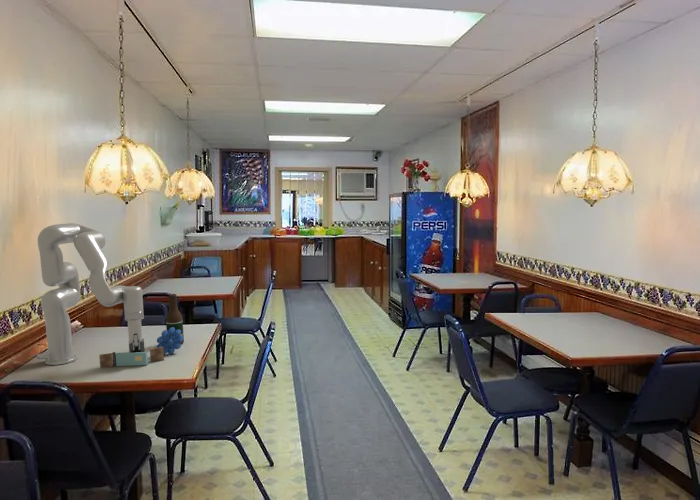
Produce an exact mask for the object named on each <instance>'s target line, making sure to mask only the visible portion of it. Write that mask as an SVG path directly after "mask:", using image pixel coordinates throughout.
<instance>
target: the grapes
mask: <svg viewBox="0 0 700 500" xmlns="http://www.w3.org/2000/svg"><path fill="white" fill-rule="evenodd" d="M182 341H183V336H182V335H181V330H176V331H175V328H174V327H172V328H170V329H169V331H167V329H165V330H163V331H161V336H158V337H157V338H156V343H157V345H156V348H158V347H163V353H164V355H166V354H169V355H173V354H174V353H175V350H180V348H181V346H182V344H180V343H179V342H182Z"/></svg>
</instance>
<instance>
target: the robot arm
mask: <svg viewBox="0 0 700 500" xmlns="http://www.w3.org/2000/svg"><path fill="white" fill-rule="evenodd" d="M71 243H73V246H74V248H75V249H76V251H77V253H78V254H79V256H80V257H81V260H82V261H83V263H84V265H85V266H86V268H87V269H88V271H89V273H88V281H89V287H90V289H91V292H92V293H93V295H94V297H95V298H96V300H97V301H98V303H99V304H100V305H102V306H103V307H107V308H110V307H115V306H116V305H119V304H122V303H123V309H124V310H123V311H124V321H126V322H127V334H128V345H129V344H131V343H132V342H133V352H141V349H140V343H141V339H143V338H142V335H143V331H142V330H143V329H142V327H143V326H142V320H143V319H145V315H144V312H145V311H144V299H143V298H144V297H143V289H142V287H141V286H138V285H137V286H135V285H133V286H127V285H119V284H118V285H114V286H111V287H110V285H109V284H108V282H107V281H106V280H107V279H106V275H105V272H106V269H107V267H108V265H109V263H110V261H109V259H108V257H107V256H106V255H105V254H106V253H104V251H103V250H102V249H103V248H104V247H105V245H106V238H105V236H104V234H102V232H100V231H98V230H95V229H93V228H90V227H86V226H84V225H81V224H78V223H74V222H72V223H71V222H69V223H58V224H57V223H56V224H52V225H48V226H46V227H44V228H43V229H42V230H41V231H40V232H39V234H38V235H37V247H38V251H39V252H38V253H39V257H40V268H41V270H40V271H41V278H42V279H41V280H42V282H43V284H45V286H47V287H57V286H58V288H54V289H50V290H48V291H47V292H45V293H44V294H43V295H42V297H41V299H40V305H41V306H40V307H41V309H42V311H43V312H42V313H43V316H44V322H45V323H44V325H45V334H46V343H47V344H46V346H47V352H45V353H38V354H36V358H37V360H38V359H39V360H43V359H45V360H44V363H45V364H46V365H49V366H57V365H58V366H59V365H65V364H69V363H73V362H75V361H76V360H78V355H77V354H74V349H73V338H72V328H71V325H72V324H71V318H70V315H69V313H68V311H67V309H70V308H72V307H74V306H76V305H77V304H78V303H79V302H80V299H81V288H80V287H81V286H80V276H79V271H78V269H77V267H76V265H74V264H73V263H72V262H70V261H64V256H63V255H64V254H63V251H62V250H61V248H60V245H65V244H71ZM138 340H139V342H138ZM134 344H135V345H134Z"/></svg>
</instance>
